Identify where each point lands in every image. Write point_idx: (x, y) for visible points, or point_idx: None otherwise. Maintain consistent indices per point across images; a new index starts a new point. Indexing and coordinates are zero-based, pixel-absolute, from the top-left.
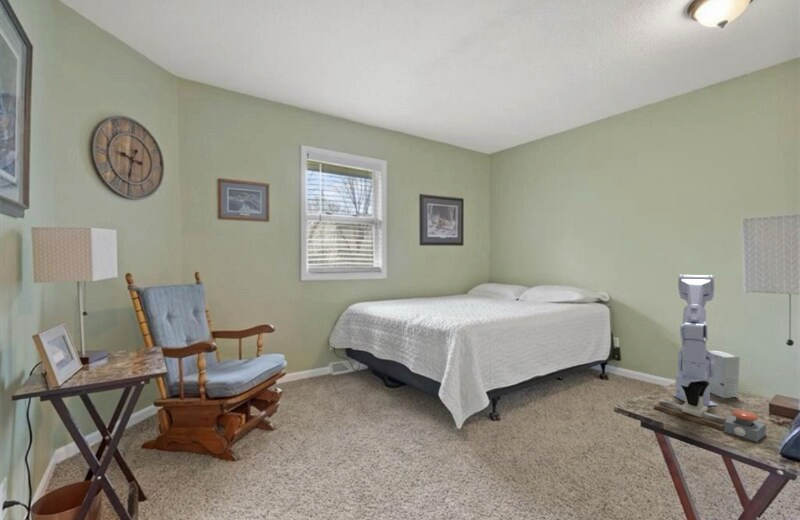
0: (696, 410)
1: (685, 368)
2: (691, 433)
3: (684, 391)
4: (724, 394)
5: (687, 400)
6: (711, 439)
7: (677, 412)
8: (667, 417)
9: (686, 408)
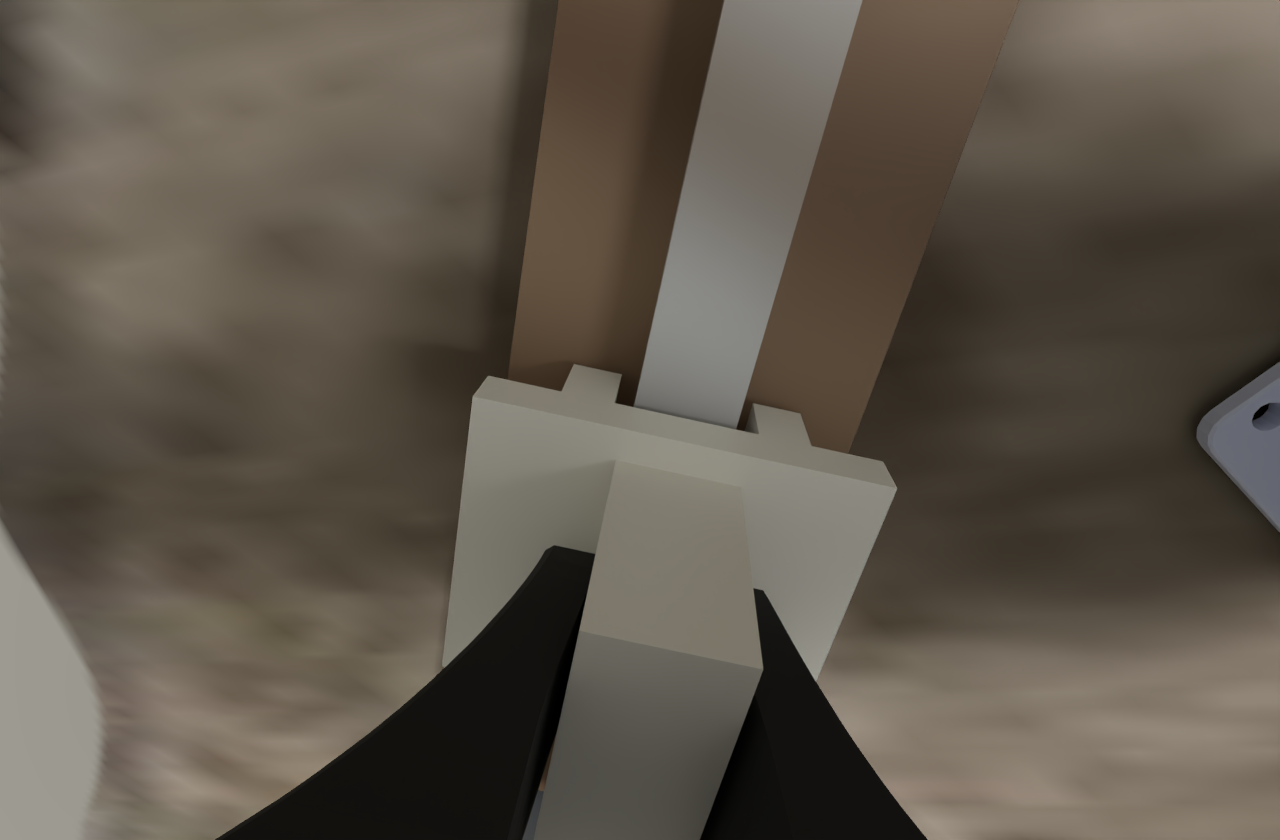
0: (452, 633)
1: None
2: (73, 511)
3: (358, 741)
4: None
5: (527, 584)
6: (120, 666)
7: (521, 298)
8: (338, 164)
9: (463, 491)
